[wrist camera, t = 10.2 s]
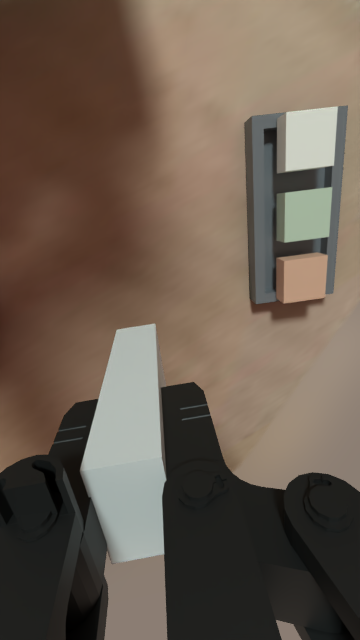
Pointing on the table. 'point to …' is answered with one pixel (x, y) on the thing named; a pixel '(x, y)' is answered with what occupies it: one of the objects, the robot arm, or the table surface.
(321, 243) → the grey rectangular tray
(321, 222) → the sage key
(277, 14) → the table surface
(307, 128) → the ivory key
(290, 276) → the terracotta key
